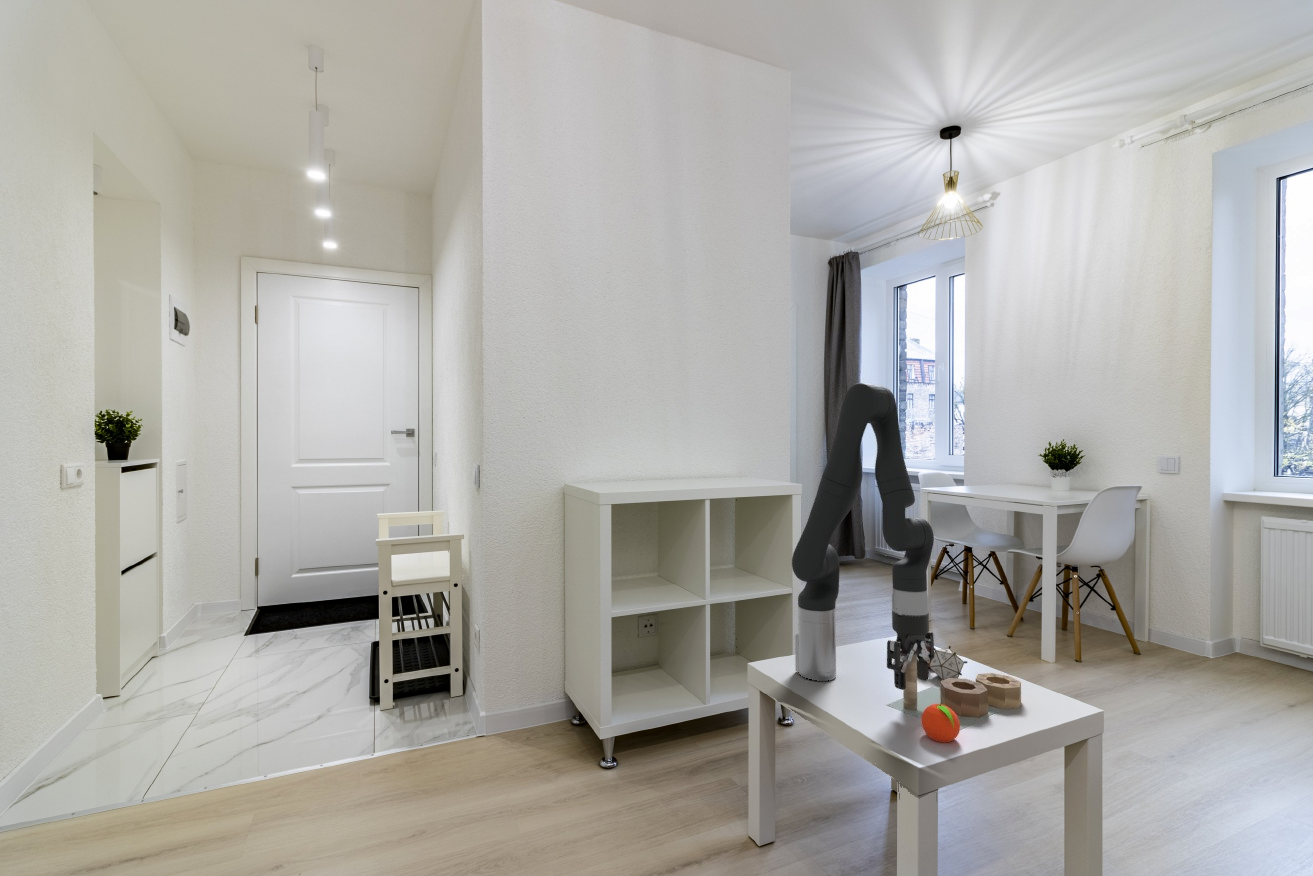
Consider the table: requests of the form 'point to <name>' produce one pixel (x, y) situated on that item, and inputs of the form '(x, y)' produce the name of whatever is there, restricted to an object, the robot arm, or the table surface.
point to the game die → (946, 664)
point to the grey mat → (933, 697)
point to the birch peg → (911, 685)
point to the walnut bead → (964, 697)
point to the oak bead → (1001, 690)
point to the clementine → (940, 723)
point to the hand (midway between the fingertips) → (911, 684)
